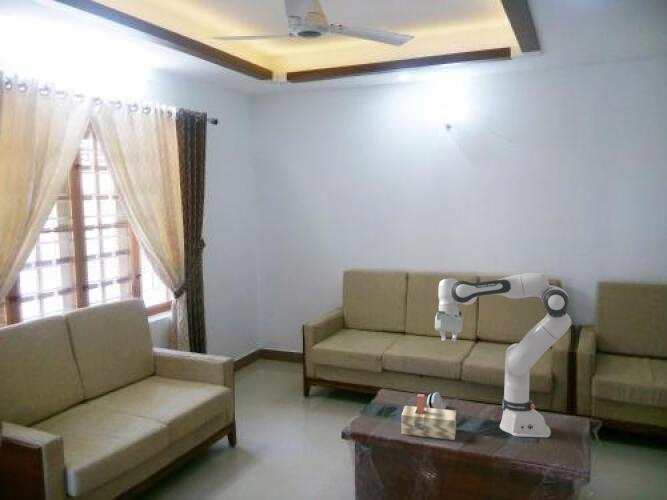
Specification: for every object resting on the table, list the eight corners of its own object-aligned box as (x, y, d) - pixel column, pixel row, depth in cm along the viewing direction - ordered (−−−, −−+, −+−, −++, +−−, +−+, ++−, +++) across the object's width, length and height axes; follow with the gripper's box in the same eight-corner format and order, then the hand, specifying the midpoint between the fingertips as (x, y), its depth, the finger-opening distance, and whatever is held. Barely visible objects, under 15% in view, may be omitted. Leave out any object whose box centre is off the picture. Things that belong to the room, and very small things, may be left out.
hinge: (440, 418, 276) (434, 398, 276) (431, 420, 277) (425, 400, 278) (446, 406, 291) (440, 388, 291) (437, 408, 293) (431, 390, 293)
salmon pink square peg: (423, 423, 262) (424, 394, 261) (423, 426, 259) (423, 396, 258) (417, 422, 263) (417, 393, 261) (416, 425, 260) (417, 396, 258)
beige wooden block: (455, 429, 263) (456, 410, 262) (454, 440, 251) (454, 420, 250) (404, 423, 269) (405, 405, 268) (401, 434, 257) (401, 415, 256)
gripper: (442, 309, 258) (443, 339, 255) (464, 313, 273) (465, 342, 270) (431, 310, 262) (431, 340, 259) (452, 314, 277) (453, 342, 274)
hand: (449, 341), depth 265 cm, fingers open, 8 cm apart
